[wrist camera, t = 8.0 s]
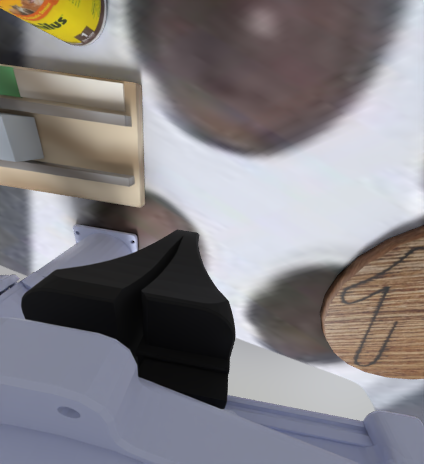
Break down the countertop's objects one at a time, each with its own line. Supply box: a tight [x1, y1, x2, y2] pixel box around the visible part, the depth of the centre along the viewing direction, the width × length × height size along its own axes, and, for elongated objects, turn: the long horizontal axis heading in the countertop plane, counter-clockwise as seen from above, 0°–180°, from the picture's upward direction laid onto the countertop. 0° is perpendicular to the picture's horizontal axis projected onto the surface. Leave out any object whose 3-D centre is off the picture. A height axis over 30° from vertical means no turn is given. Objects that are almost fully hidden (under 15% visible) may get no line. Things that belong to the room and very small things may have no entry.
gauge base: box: [0, 64, 145, 208], centre depth 18 cm, size 11×20×4 cm, turn 83°
